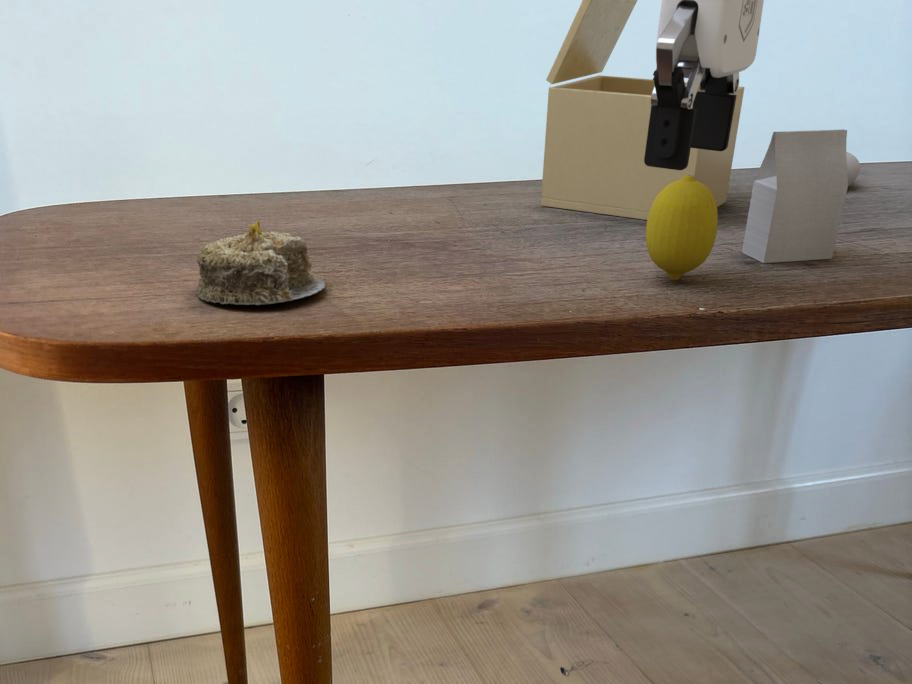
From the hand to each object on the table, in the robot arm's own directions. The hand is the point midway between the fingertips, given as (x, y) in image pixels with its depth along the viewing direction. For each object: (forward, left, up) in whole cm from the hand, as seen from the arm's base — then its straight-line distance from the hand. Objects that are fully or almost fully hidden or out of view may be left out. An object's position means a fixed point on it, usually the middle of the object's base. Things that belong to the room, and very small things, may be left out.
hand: (686, 157), depth 81 cm
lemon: (0, 0, -9) cm, 9 cm away
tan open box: (+13, -25, -9) cm, 30 cm away
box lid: (+17, -25, +9) cm, 32 cm away
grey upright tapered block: (-6, -13, -9) cm, 17 cm away
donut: (0, -46, -9) cm, 47 cm away
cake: (+26, +21, -9) cm, 34 cm away
